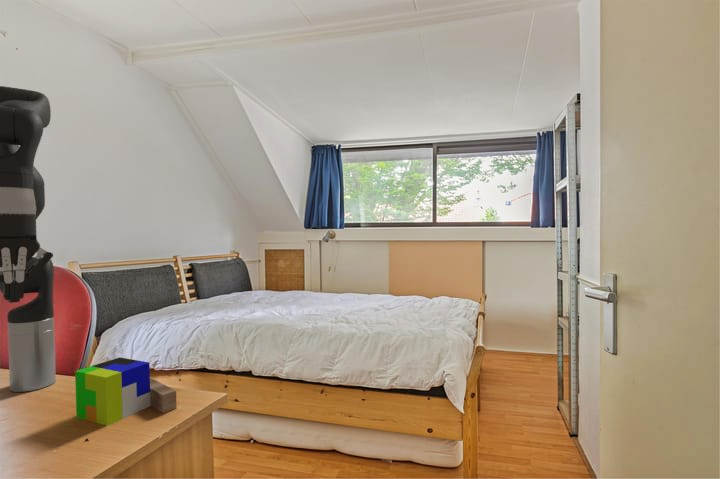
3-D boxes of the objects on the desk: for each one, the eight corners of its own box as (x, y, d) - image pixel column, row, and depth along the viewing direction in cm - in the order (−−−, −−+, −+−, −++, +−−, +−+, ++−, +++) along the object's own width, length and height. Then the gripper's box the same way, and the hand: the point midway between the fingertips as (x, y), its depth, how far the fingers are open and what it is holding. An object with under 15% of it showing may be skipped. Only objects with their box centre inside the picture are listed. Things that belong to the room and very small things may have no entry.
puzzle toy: (150, 406, 91) (149, 362, 91) (107, 426, 82) (105, 377, 82) (120, 399, 95) (119, 357, 95) (76, 417, 86) (75, 371, 86)
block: (125, 390, 100) (125, 374, 100) (138, 386, 102) (138, 371, 102) (162, 413, 87) (162, 395, 87) (176, 408, 89) (176, 390, 89)
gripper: (47, 213, 84) (50, 295, 85) (-41, 211, 74) (-38, 304, 75) (58, 212, 80) (60, 299, 80) (-35, 211, 69) (-31, 310, 70)
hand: (13, 301), depth 78 cm, fingers closed
